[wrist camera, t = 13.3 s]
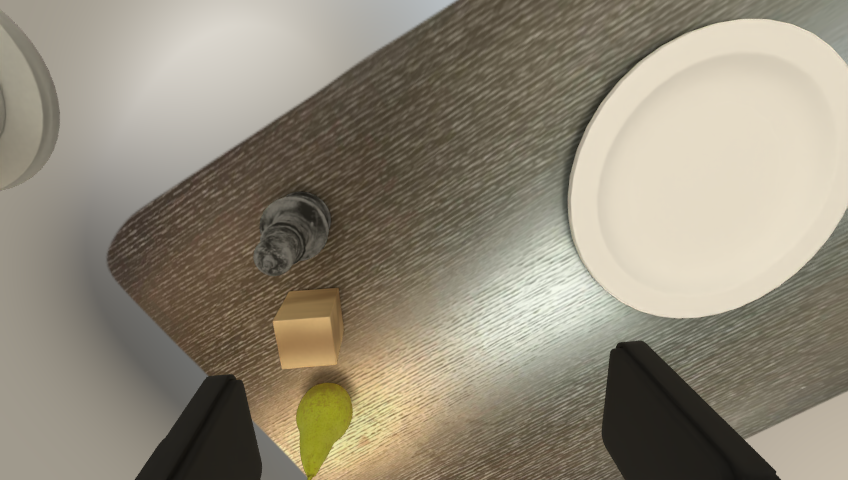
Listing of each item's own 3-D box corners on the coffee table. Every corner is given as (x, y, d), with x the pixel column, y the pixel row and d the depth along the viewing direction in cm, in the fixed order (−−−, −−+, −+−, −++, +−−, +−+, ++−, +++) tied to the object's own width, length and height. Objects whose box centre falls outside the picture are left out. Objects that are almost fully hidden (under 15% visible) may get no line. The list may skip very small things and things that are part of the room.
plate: (897, 68, 39) (927, 67, 37) (755, 327, 47) (773, 339, 45) (625, -17, 35) (641, -25, 33) (524, 281, 44) (531, 291, 41)
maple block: (288, 291, 42) (272, 321, 36) (338, 287, 42) (330, 316, 37) (296, 334, 44) (281, 369, 38) (344, 330, 44) (336, 364, 38)
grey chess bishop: (271, 245, 40) (224, 303, 29) (270, 185, 39) (218, 222, 27) (333, 249, 41) (309, 307, 30) (334, 190, 39) (310, 228, 28)
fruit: (338, 360, 45) (319, 449, 34) (365, 399, 47) (355, 495, 36) (292, 382, 46) (258, 477, 34) (320, 420, 48) (297, 521, 36)
